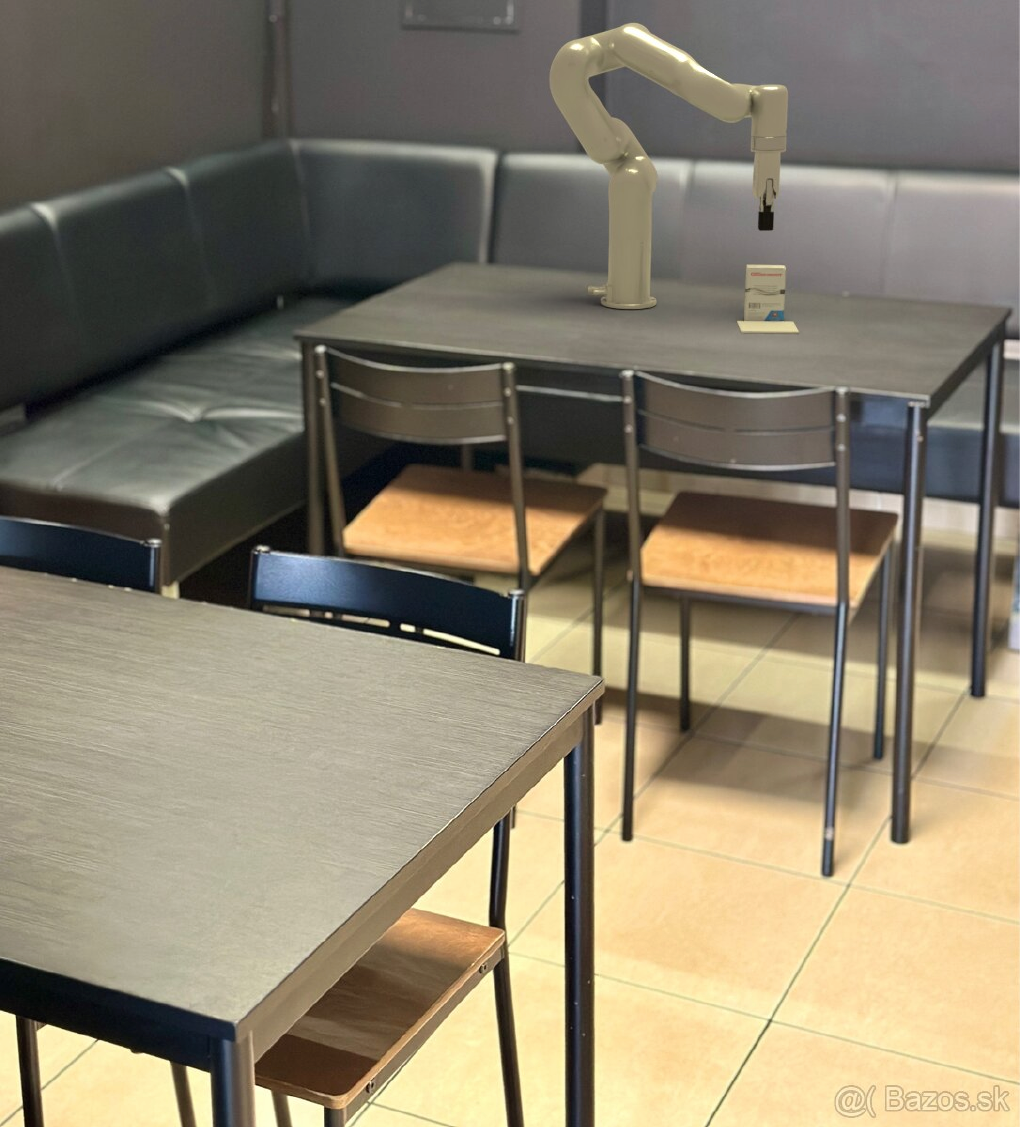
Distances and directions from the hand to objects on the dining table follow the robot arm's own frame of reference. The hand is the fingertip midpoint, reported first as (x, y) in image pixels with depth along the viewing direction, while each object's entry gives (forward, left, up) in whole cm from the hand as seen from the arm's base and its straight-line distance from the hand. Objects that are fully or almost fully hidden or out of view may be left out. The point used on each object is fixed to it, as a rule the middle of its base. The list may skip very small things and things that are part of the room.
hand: (765, 229), depth 350 cm
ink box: (-1, -10, -18) cm, 21 cm away
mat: (-1, -18, -18) cm, 26 cm away
